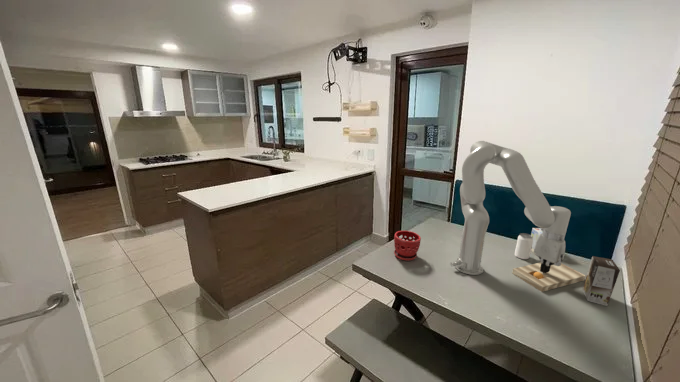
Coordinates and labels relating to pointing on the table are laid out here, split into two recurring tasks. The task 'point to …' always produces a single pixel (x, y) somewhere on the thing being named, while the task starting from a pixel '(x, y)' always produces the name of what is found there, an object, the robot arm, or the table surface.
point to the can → (524, 246)
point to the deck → (549, 276)
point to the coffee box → (600, 280)
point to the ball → (538, 275)
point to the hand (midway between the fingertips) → (544, 271)
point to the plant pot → (406, 245)
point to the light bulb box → (535, 235)
